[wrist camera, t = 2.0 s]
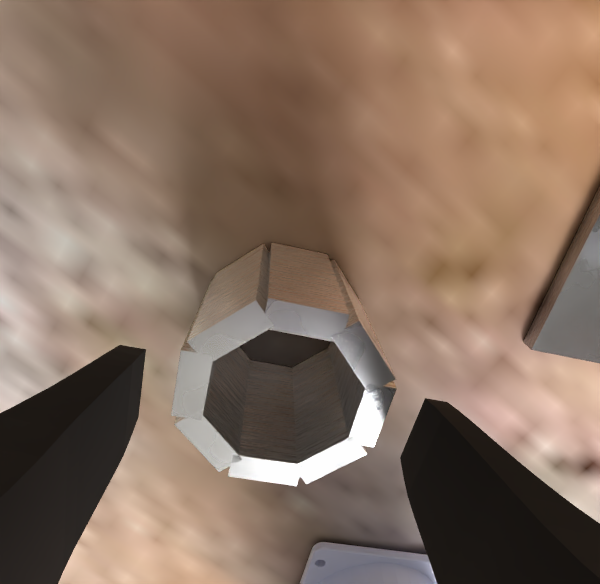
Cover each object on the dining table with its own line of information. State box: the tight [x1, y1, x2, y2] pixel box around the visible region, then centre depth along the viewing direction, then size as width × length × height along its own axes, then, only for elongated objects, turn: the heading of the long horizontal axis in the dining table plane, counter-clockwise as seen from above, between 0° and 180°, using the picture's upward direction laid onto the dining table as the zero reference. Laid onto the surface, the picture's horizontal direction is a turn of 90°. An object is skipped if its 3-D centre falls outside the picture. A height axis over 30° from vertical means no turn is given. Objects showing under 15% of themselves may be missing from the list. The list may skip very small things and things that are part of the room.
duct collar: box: [171, 242, 396, 486], centre depth 13 cm, size 6×6×5 cm
